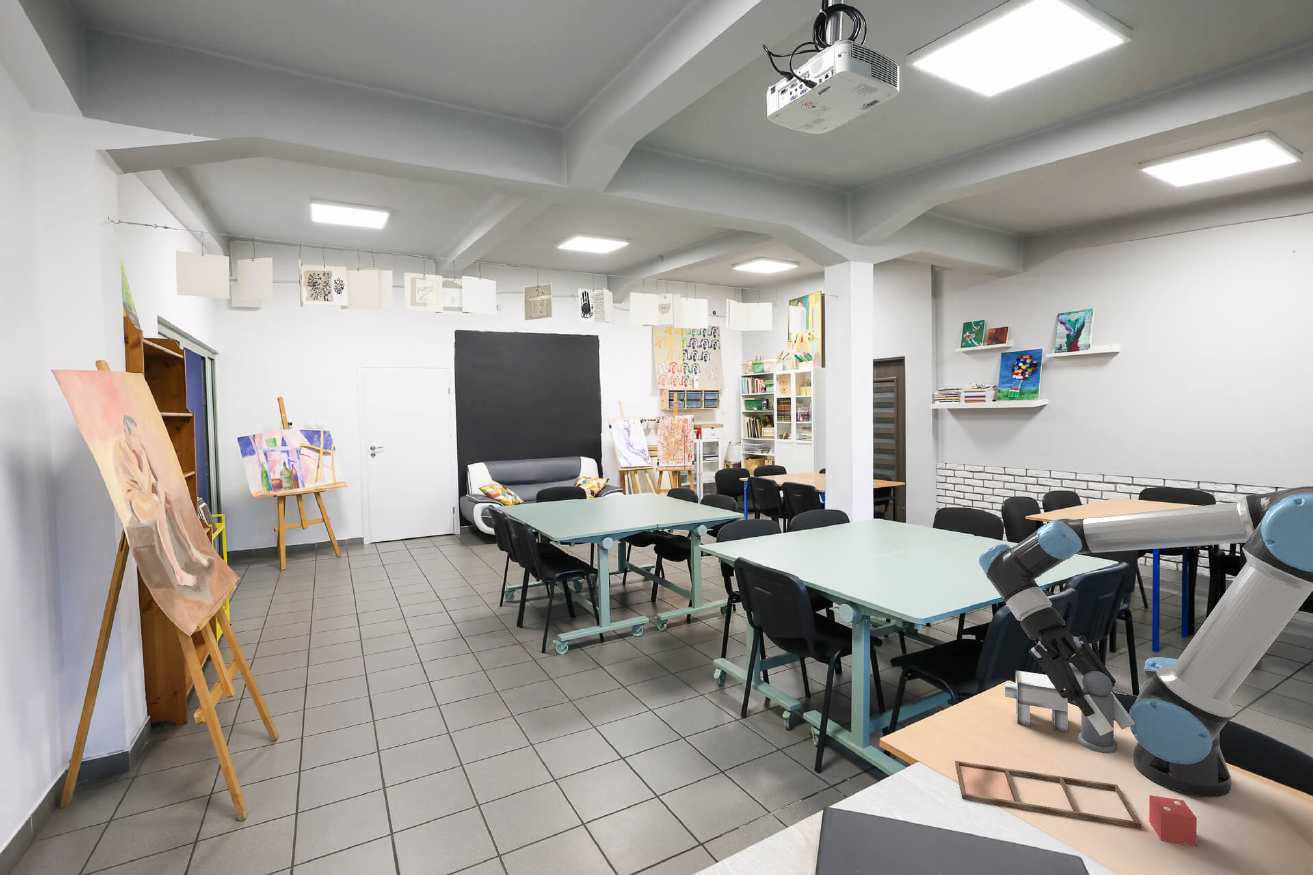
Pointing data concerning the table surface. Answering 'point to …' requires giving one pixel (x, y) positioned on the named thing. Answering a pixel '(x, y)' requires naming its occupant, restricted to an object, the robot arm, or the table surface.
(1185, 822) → the red die
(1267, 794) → the table surface
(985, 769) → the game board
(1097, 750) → the pawn
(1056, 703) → the toy llama
